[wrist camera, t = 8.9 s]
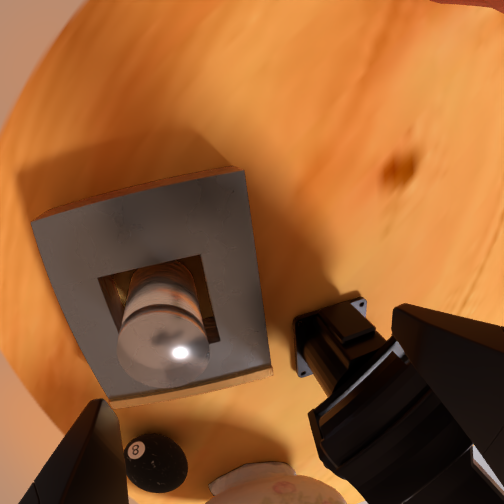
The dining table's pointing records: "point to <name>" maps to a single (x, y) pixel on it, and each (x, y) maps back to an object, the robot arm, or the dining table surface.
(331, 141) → the dining table surface
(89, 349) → the jig
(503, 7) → the potted plant
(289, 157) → the dining table surface
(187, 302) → the grey cylinder
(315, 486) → the ceramic pitcher
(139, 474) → the billiard ball
